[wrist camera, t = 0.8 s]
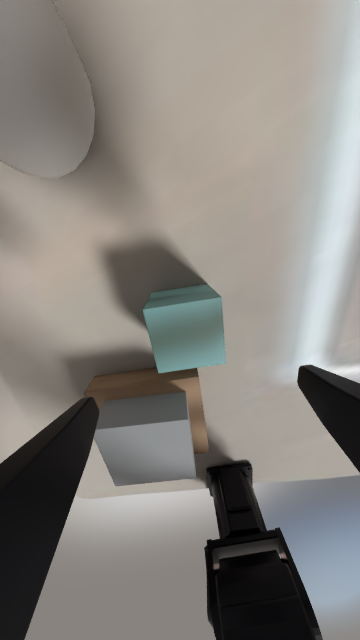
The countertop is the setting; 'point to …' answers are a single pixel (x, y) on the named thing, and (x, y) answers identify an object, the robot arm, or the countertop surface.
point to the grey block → (146, 439)
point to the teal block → (186, 328)
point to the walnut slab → (156, 384)
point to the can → (42, 92)
